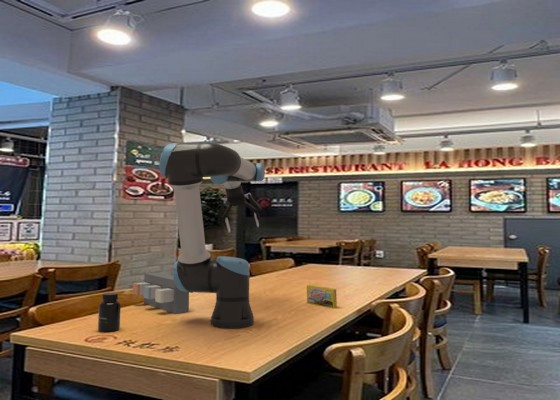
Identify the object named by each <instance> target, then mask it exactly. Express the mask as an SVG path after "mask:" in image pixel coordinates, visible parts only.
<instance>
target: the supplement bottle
mask: <svg viewBox="0 0 560 400" xmlns="http://www.w3.org/2000/svg"><path fill="white" fill-rule="evenodd" d="M118 299H119V293H117V292H104V293H103V294H102V297H101V300H102V301H101V302H100V303H99V304H98V321H97V323H98V324H97V330H98V331H99V332H101V333H112V332H117V331H119V330H120V329H121V328H120V327H121V309H122V307H121V302H120V301H119V300H118Z"/></svg>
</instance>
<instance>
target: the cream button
mask: <svg viewBox="0 0 560 400" xmlns="http://www.w3.org/2000/svg"><path fill="white" fill-rule="evenodd" d="M155 301H156V302H159V303H165V302H173V301H174V288H166V289H156V290H155Z"/></svg>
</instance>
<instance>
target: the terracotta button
mask: <svg viewBox="0 0 560 400" xmlns="http://www.w3.org/2000/svg"><path fill="white" fill-rule="evenodd" d="M144 286H150V282H144V281H143V282H135V283H132V295H134V296H144Z"/></svg>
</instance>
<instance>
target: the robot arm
mask: <svg viewBox="0 0 560 400" xmlns="http://www.w3.org/2000/svg"><path fill="white" fill-rule="evenodd" d="M265 170H266V169H265V165H264V164H263V163H261V162H259V163H258V162H251V161H249V160H247V159H246V158H243V157H241V156H240V154H239V153H238V152H237V151H236V150H235V149H233V148H231V147H228V146H225V145H223V144H220V143H215V142H209V141H205V142H204V141H203V142H174V143H169V144H167V145H165V146H164V148H163V149H162V151H161V154H160V158H159V172H160V174H161V176H162V177H163V178H164V179H167V182H168V185H169V186H170V187H171V188H172V189H173V192H174V202H175V209H176V217H177V225H178V226H177V227H178V234H179V235H178V236H179V243H180V251H181V253H180V254H179V256H178V257H177V260H176V261H175V263H174V265H173V268H172V269H173V272H172V276H173V278H174V282H175V285H176V286H177V288H178V289H179V290H181V291H184V292H189V294H193V293H199V294H201V293H203V294H207V293H208V294H215V295H216V297H215V299H216V300H215V301H216V302H215V304H214V308H213V309H212V310H213V311H212V312H211V313H212V314H211V317H210V325H211V326H212V327H216V328H222V329H239V328H246V327H250V326H253V325H254V324H255V319H254V318H255V316H254V313H253V310H252V306H251V303H250V274H251V273H250V263H249V262H248V261H247V260H246V259H244V258H241V257H233V256H227V255H226V256H223V255H222V256H216V259H215V260H213V259H212V257H211V253H210V251H208V250H207V249H206V241H205V230H204V229H205V227H204V220H203V211H202V201H201V192H200V186H201V184H202V183H203V182H204V178H210V181H211V182H213V184H215V185H217V186H218V185H223V186H224V189H225V194H226V198H225V197H222V198H221V200H220V209H219V213H218V220H222V222H223V226H224V227H226V228H227V232H228V234H229V233H231V226H230V222H229V219H228V217H227V216H228V215H229V212H230V211H231V209H232V207H237V206H238V207H239V206H242V205H243V206H245V207H246V208H247V209H249V210H251V211H252V212H253V213H254V214H253V215H254V220H255V224H256V227H257V228H260V227H259V226H260V224H259V220H260V213H259V212H262V208H263V207H261V205H259V203H258V202H257V201H256V200H255V198H253V196H252V194H251V192H248V193H246V194H244V191H243V186H242V184H241V183H242V182H262V181H264V179H265V174H266V171H265ZM246 199H248V200H249V201H250V203H249V202H248V201H247V200H246ZM226 202H228V203H229V204H228V206H227V209H226V210H225V212H224V214H223V210H224V207H225V204H226Z"/></svg>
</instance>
